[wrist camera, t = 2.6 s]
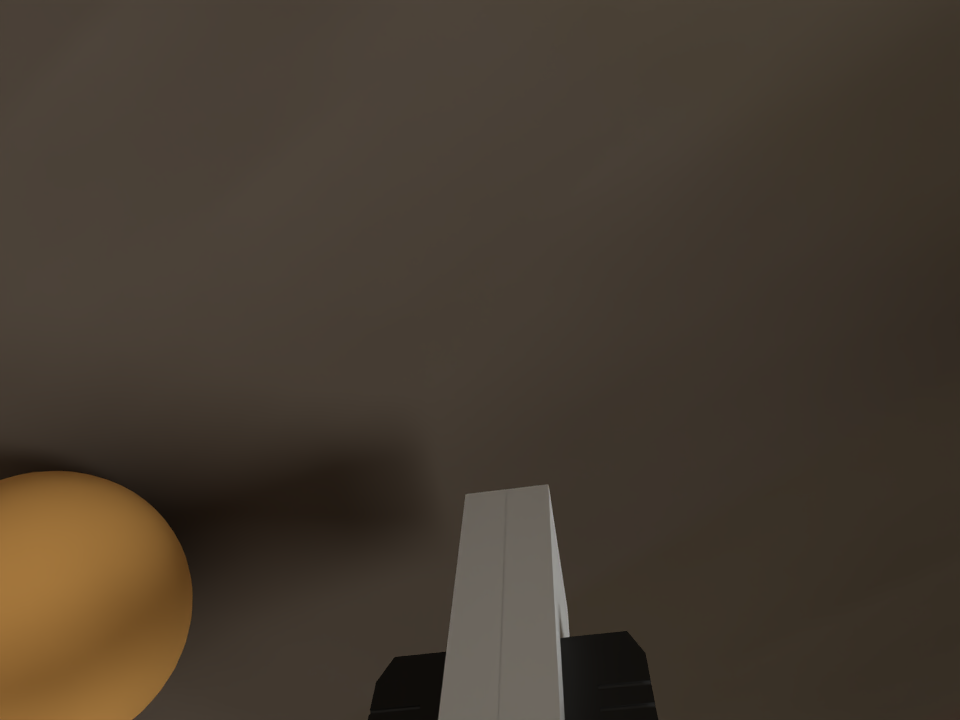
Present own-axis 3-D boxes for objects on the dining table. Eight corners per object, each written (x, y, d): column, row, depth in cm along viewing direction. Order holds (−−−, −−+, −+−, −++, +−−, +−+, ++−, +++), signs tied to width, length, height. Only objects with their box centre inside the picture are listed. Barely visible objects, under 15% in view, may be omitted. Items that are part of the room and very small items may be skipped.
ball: (253, 624, 21) (165, 817, 16) (34, 647, 22) (-121, 842, 16) (190, 411, 19) (66, 552, 14) (-48, 442, 20) (-251, 590, 15)
